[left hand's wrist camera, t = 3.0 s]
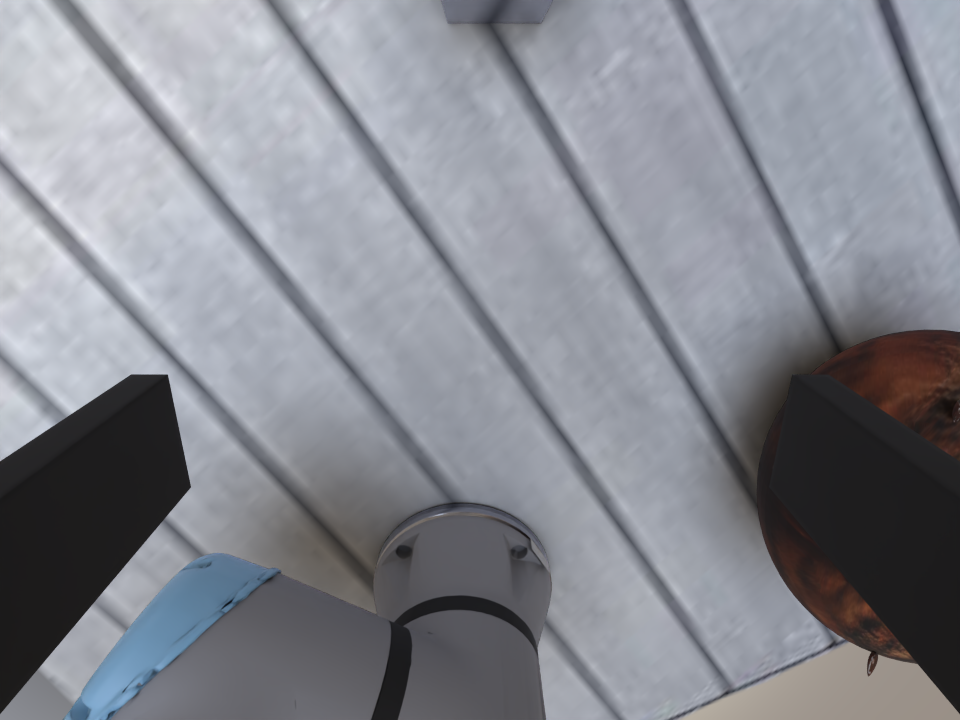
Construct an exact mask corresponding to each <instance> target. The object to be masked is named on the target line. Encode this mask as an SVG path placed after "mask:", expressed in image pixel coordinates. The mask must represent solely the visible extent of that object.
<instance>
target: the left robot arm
mask: <svg viewBox="0 0 960 720" xmlns="http://www.w3.org/2000/svg"><path fill="white" fill-rule="evenodd" d="M190 488H191V485H190V480H189V475H188V470H187V466H186V461H185V456H184V451H183V446H182V441H181V437H180V432H179V427H178V422H177V417H176V412H175V407H174V403H173V398H172V393H171V388H170V383H169V378H168V375H130V376H128V377H127V378H125V379H124V380H122V381H121V382H119V383H118V384H116V385H115V386H113V387H112V388H110V389H109V390H107V391H106V392H104V393H103V394H101V395H100V396H98V397H97V398H95V399H94V400H92V401H91V402H89V403H88V404H86V405H85V406H83V407H82V408H80V409H79V410H77V411H76V412H74V413H73V414H71V415H70V416H68V417H67V418H65V419H64V420H62V421H61V422H59V423H58V424H56V425H54V426H53V427H51V428H50V429H48V430H47V431H45V432H44V433H42V434H41V435H39V436H38V437H36V438H35V439H33V440H32V441H30V442H29V443H27V444H26V445H24V446H23V447H21V448H20V449H18V450H17V451H15V452H14V453H12V454H11V455H9V456H8V457H6V458H5V459H3V460H2V461H0V713H1V712H2V711H3V710H4V709H5V708H6V706H7V705H8V704H9V703H10V702H11V700H12V699H13V698H14V697H15V696H16V695H17V693H18V692H19V691H20V690H21V689H22V687H23V686H24V685H25V684H26V683H27V681H28V680H29V679H30V678H31V677H32V675H33V674H34V673H35V672H36V671H37V670H38V668H39V667H40V666H41V665H42V664H43V662H44V661H45V660H46V659H47V658H48V657H49V655H50V654H51V653H52V652H53V651H54V649H55V648H56V647H57V646H58V645H59V643H60V642H61V641H62V640H63V639H64V637H65V636H66V635H67V634H68V633H69V632H70V630H71V629H72V628H73V627H74V626H75V624H76V623H77V622H78V621H79V620H80V618H81V617H82V616H83V615H84V614H85V613H86V611H87V610H88V609H89V608H90V607H91V605H92V604H93V603H94V602H95V601H96V599H97V598H98V597H99V596H100V595H101V594H102V592H103V591H104V590H105V589H106V588H107V586H108V585H109V584H110V583H111V582H112V580H113V579H114V578H115V577H116V576H117V574H118V573H119V572H120V571H121V570H122V569H123V567H124V566H125V565H126V564H127V563H128V561H129V560H130V559H131V558H132V557H133V555H134V554H135V553H136V552H137V551H138V550H139V548H140V547H141V546H142V545H143V544H144V542H145V541H146V540H147V539H148V538H149V536H150V535H151V534H152V533H153V532H154V531H155V529H156V528H157V527H158V526H159V525H160V523H161V522H162V521H163V520H164V519H165V517H166V516H167V515H168V514H169V513H170V511H171V510H172V509H173V508H174V507H175V506H176V504H177V503H178V502H179V501H180V500H181V498H182V497H183V496H184V495H185V494H186V492H187V491H188V490H189V489H190ZM769 488H770V489H771V490H772V491H773V492H774V494H775V495H776V496H777V497H778V498H779V500H780V501H781V502H782V503H783V504H784V506H785V507H786V508H787V509H788V510H789V511H790V513H791V514H792V515H793V516H794V517H795V519H796V520H797V521H798V522H799V523H800V525H801V526H802V527H803V528H804V529H805V531H806V532H807V533H808V534H809V535H810V536H811V538H812V539H813V540H814V541H815V542H816V544H817V545H818V546H819V547H820V548H821V550H822V551H823V552H824V553H825V554H826V555H827V557H828V558H829V559H830V560H831V561H832V563H833V564H834V565H835V566H836V567H837V569H838V570H839V571H840V572H841V573H842V574H843V576H844V577H845V578H846V579H847V580H848V582H849V583H850V584H851V585H852V586H853V588H854V589H855V590H856V591H857V592H858V594H859V595H860V596H861V597H862V598H863V599H864V601H865V602H866V603H867V604H868V605H869V607H870V608H871V609H872V610H873V611H874V613H875V614H876V615H877V616H878V617H879V618H880V620H881V621H882V622H883V623H884V624H885V626H886V627H887V628H888V629H889V630H890V632H891V633H892V634H893V635H894V636H895V637H896V639H897V640H898V641H899V642H900V643H901V645H902V646H903V647H904V648H905V649H906V651H907V652H908V653H909V654H910V655H911V657H912V658H913V659H914V660H915V661H916V662H917V664H918V665H919V666H920V667H921V668H922V669H923V671H924V672H925V673H926V674H927V676H928V677H929V678H930V679H931V680H932V681H933V683H934V684H935V685H936V686H937V687H938V688H939V690H940V691H941V692H942V693H943V695H944V696H945V697H946V698H947V699H948V700H949V702H950V703H951V704H952V705H953V706H954V708H955V709H956V710H957V711H958V712H959V714H960V461H958V460H957V459H955V458H954V457H952V456H951V455H949V454H948V453H946V452H945V451H943V450H942V449H940V448H939V447H937V446H936V445H934V444H933V443H931V442H930V441H928V440H927V439H925V438H924V437H922V436H921V435H919V434H918V433H916V432H915V431H913V430H912V429H910V428H909V427H907V426H906V425H904V424H902V423H901V422H899V421H898V420H896V419H895V418H893V417H892V416H890V415H889V414H887V413H886V412H884V411H883V410H881V409H880V408H878V407H877V406H875V405H874V404H872V403H871V402H869V401H868V400H866V399H865V398H863V397H862V396H860V395H859V394H857V393H856V392H854V391H853V390H851V389H850V388H848V387H847V386H845V385H844V384H842V383H841V382H839V381H838V380H836V379H835V378H833V377H832V376H830V375H792V378H791V383H790V388H789V393H788V398H787V403H786V407H785V412H784V417H783V422H782V427H781V432H780V437H779V441H778V446H777V451H776V456H775V461H774V466H773V470H772V475H771V480H770V485H769ZM373 590H374V600H375V605H376V611H377V615H376V614H373V613H371V612H369V611H366V610H364V609H362V608H359V607H357V606H355V605H352V604H350V603H348V602H345V601H343V600H341V599H338V598H336V597H334V596H331V595H329V594H327V593H324V592H322V591H320V590H317V589H315V588H312V587H310V586H308V585H305V584H303V583H301V582H298V581H296V580H294V579H291V578H289V577H287V576H284V575H282V574H281V570H279V569H277V568H271V569H267V568H264V567H262V566H259V565H256V564H253V563H251V562H248V561H245V560H242V559H240V558H237V557H234V556H231V555H228V554H223V553H213V554H208V555H205V556H202V557H200V558H198V559H196V560H194V561H193V562H191V563H190V564H188V565H187V566H186V567H184V568H183V569H182V570H181V571H180V572H179V573H178V574H177V575H176V576H175V577H174V578H172V579H171V580H170V582H169V583H168V584H167V585H166V586H165V587H164V588H163V589H162V590H161V591H160V592H159V593H158V594H157V595H156V597H155V598H154V599H153V600H152V601H151V602H150V604H149V605H148V606H147V607H146V608H145V609H144V610H143V612H142V613H141V614H140V615H139V616H138V618H137V619H136V620H135V621H134V622H133V624H132V625H131V626H130V627H129V629H128V630H127V631H126V632H125V634H124V635H123V636H122V637H121V639H120V640H119V641H118V642H117V644H116V645H115V646H114V648H113V649H112V650H111V652H110V653H109V654H108V655H107V657H106V658H105V659H104V661H103V662H102V663H101V665H100V666H99V667H98V669H97V670H96V671H95V673H94V674H93V676H92V677H91V679H90V680H89V682H88V683H87V684H86V686H85V687H84V689H83V691H82V693H81V696H80V697H79V698H78V700H77V701H76V702H75V704H74V705H73V707H72V709H71V710H70V711H69V712H68V714H67V715H66V716H65V717H64V719H63V720H546V716H545V708H544V700H543V692H542V683H541V675H540V667H539V659H538V649H537V648H538V644H539V640H540V637H541V633H542V629H543V626H544V622H545V619H546V615H547V611H548V608H549V604H550V598H551V590H552V582H551V575H550V568H549V563H548V559H547V556H546V553H545V550H544V548H543V546H542V545H541V543H540V541H539V540H538V538H537V537H536V536H535V535H534V533H533V532H532V531H531V530H530V529H529V528H528V527H527V526H526V525H524V524H523V523H522V522H520V521H519V520H517V519H516V518H514V517H513V516H511V515H509V514H507V513H505V512H502V511H500V510H497V509H494V508H491V507H487V506H482V505H476V504H463V503H461V504H448V505H442V506H437V507H433V508H430V509H427V510H424V511H422V512H419V513H417V514H416V515H414V516H412V517H410V518H409V519H407V520H406V521H404V522H403V523H402V524H400V525H399V526H398V527H397V528H396V529H395V530H394V531H393V532H392V533H391V534H390V536H389V537H388V538H387V540H386V541H385V543H384V545H383V547H382V549H381V551H380V554H379V557H378V561H377V565H376V569H375V573H374V580H373Z"/></svg>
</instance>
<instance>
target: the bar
mask: <svg viewBox="0 0 960 720" xmlns="http://www.w3.org/2000/svg"><path fill="white" fill-rule="evenodd" d="M441 1H442V5H443V9H444V12H445V16H446V20H447V23H542V21H543V19H544V17H545V15H546V13H547V11H548V9H549V7H550V5H551V3H552V2H553V0H441Z"/></svg>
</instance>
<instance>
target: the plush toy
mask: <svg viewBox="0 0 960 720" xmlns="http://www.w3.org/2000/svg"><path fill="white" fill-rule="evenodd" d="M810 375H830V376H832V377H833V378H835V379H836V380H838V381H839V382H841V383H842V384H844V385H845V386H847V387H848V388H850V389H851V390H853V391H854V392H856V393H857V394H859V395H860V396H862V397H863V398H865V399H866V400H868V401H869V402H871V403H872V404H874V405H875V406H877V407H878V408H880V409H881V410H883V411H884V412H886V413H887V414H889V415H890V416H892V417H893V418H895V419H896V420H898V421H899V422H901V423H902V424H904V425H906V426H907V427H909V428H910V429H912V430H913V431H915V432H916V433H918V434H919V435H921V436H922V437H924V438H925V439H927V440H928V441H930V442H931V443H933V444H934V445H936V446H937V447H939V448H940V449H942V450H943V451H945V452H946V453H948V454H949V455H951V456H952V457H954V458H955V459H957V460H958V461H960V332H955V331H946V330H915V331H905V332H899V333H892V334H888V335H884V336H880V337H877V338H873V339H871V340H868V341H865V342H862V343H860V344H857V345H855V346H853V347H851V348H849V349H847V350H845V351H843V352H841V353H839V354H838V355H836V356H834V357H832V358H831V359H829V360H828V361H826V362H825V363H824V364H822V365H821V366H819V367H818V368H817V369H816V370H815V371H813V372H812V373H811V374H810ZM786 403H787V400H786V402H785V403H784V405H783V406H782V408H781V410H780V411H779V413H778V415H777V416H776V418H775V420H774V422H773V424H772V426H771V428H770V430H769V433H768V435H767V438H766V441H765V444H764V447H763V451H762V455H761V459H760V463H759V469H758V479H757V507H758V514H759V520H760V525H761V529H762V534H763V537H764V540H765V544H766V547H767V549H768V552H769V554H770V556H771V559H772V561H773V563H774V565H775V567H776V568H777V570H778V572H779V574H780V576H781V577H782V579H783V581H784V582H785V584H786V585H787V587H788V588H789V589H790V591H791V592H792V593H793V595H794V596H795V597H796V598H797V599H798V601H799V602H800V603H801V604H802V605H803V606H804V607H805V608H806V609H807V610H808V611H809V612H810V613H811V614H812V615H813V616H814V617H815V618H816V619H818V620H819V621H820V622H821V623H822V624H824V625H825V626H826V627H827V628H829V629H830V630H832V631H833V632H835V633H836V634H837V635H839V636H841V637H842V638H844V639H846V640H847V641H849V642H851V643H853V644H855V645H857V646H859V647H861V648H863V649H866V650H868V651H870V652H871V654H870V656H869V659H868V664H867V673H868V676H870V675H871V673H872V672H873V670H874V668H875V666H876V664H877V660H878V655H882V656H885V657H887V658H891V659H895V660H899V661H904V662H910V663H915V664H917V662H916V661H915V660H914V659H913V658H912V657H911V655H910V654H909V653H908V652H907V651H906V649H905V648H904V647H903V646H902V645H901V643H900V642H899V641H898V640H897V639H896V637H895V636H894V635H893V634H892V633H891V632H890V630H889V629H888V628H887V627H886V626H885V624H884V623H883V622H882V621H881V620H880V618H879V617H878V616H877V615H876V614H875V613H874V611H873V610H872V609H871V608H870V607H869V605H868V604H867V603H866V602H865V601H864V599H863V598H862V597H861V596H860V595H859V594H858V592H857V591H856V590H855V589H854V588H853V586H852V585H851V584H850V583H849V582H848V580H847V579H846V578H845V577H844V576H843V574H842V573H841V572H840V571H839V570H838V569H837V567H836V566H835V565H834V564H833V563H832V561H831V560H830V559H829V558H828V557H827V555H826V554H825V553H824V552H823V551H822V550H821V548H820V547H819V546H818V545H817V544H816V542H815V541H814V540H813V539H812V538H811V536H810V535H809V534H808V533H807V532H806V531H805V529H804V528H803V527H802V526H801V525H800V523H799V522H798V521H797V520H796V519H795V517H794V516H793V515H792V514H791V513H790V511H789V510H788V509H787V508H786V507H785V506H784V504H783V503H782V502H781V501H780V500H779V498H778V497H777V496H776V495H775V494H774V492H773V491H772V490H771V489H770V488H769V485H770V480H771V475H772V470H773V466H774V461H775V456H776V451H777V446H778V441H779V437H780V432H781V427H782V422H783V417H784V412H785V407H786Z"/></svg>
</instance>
